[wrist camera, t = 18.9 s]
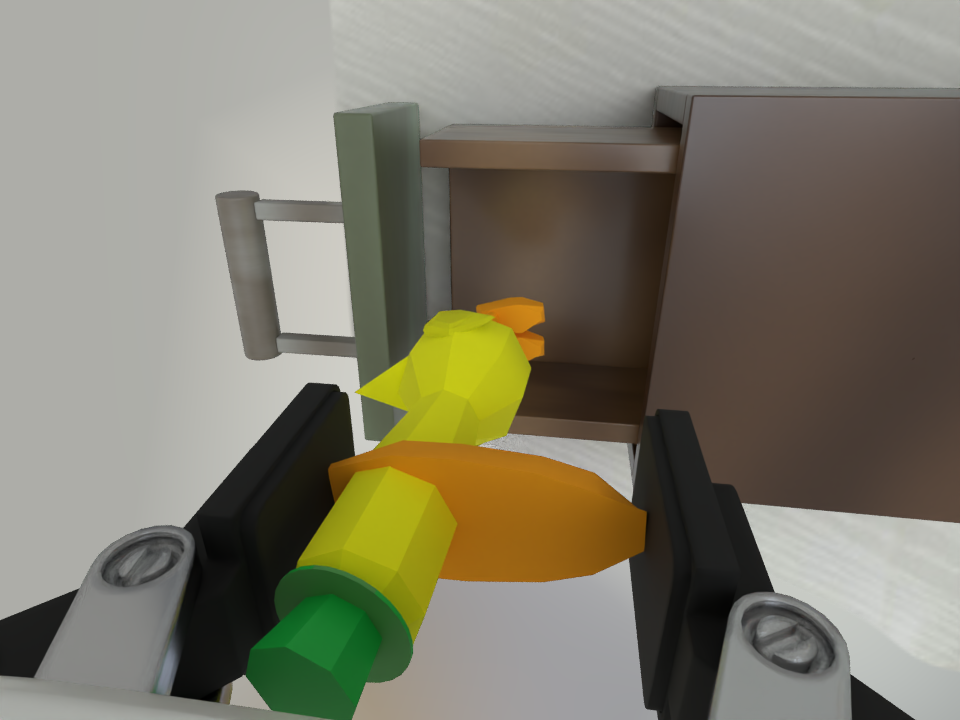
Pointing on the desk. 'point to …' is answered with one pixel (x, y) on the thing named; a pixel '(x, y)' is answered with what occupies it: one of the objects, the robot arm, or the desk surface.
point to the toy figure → (433, 516)
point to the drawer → (486, 255)
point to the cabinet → (815, 295)
